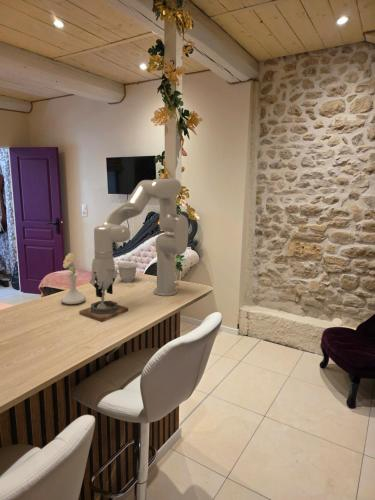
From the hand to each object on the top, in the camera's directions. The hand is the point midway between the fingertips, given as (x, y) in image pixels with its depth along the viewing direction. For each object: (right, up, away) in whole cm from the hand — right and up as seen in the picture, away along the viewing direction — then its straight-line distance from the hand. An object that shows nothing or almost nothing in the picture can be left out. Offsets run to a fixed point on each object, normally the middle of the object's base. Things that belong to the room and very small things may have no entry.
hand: (104, 294), depth 147 cm
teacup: (0, +1, +51) cm, 51 cm away
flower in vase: (-18, -6, +13) cm, 23 cm away
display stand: (0, -8, +1) cm, 8 cm away
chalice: (-1, -7, 0) cm, 7 cm away
